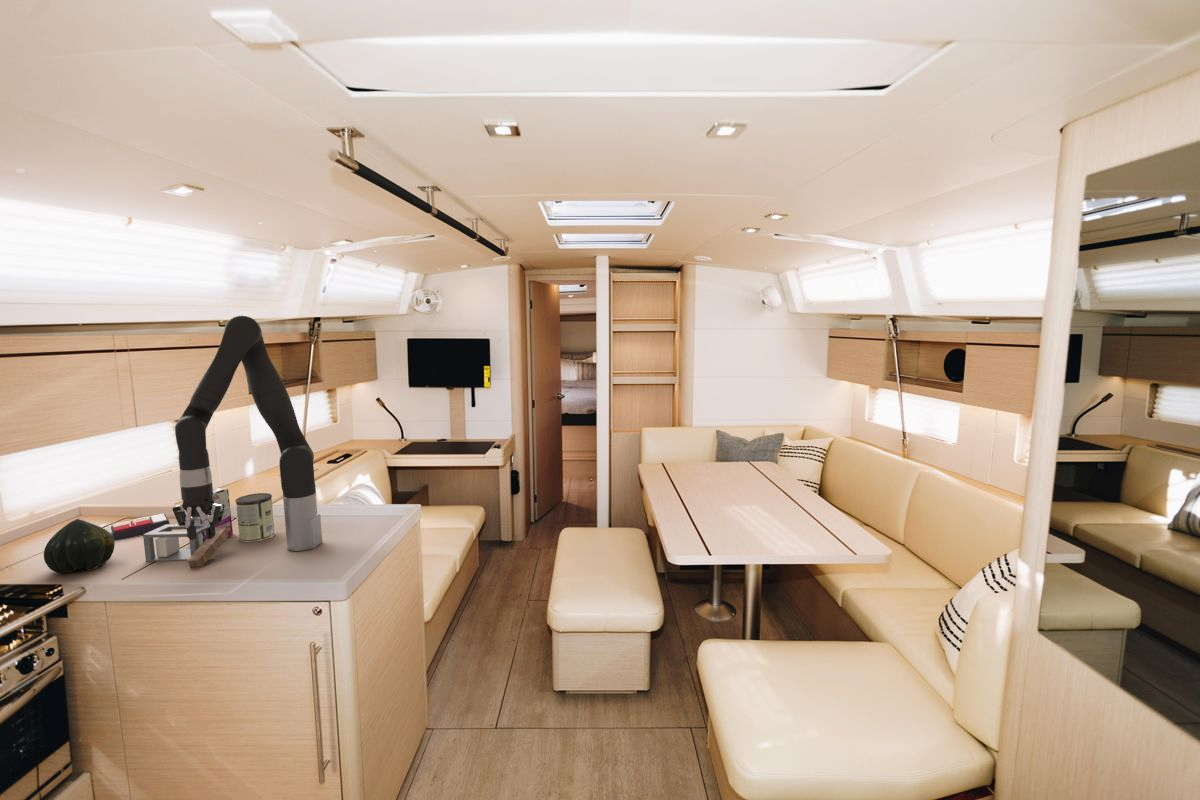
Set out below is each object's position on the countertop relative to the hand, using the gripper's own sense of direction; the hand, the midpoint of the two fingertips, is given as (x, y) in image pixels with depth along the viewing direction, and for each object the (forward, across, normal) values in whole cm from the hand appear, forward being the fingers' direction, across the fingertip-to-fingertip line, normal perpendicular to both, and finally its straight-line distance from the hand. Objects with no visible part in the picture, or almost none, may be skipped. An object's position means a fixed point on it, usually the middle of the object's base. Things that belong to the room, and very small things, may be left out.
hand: (201, 538), depth 160 cm
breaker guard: (+8, +11, -6) cm, 15 cm away
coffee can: (+8, -3, -22) cm, 23 cm away
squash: (+8, +35, 0) cm, 36 cm away
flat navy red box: (+9, +43, -31) cm, 54 cm away
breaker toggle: (+7, +15, -6) cm, 18 cm away
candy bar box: (+8, +11, -20) cm, 25 cm away
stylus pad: (+8, 0, 0) cm, 8 cm away
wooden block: (+6, 0, +4) cm, 7 cm away
